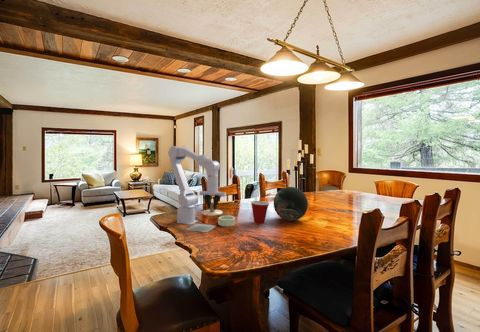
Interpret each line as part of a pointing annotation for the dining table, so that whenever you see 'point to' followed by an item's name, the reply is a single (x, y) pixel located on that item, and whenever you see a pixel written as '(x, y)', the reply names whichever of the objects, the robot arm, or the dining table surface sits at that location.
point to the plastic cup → (259, 211)
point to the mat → (201, 227)
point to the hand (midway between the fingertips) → (212, 209)
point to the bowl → (226, 221)
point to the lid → (212, 211)
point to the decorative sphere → (290, 203)
